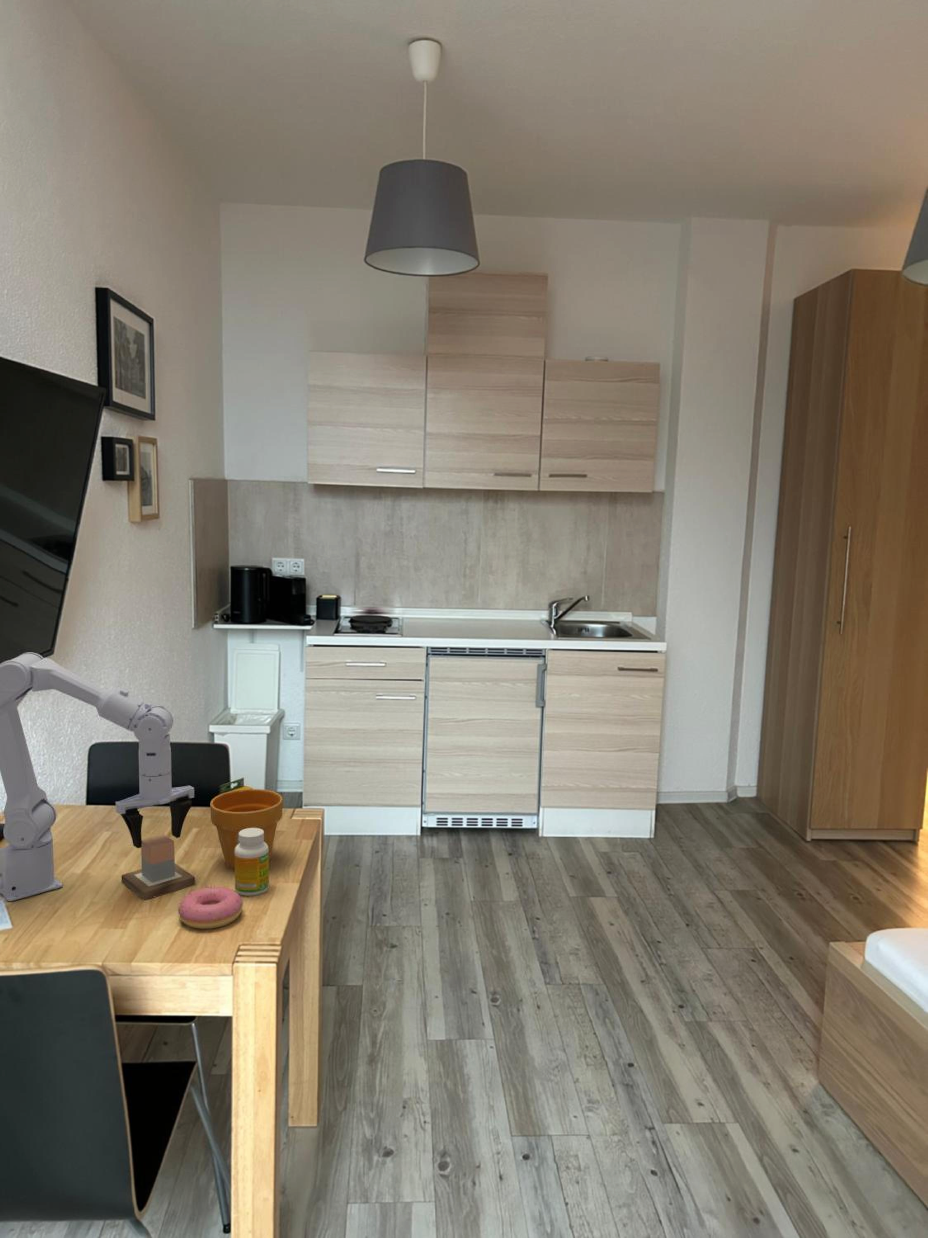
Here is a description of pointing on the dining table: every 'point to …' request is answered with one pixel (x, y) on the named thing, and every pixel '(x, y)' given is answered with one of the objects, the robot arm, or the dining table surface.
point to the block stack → (158, 858)
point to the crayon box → (238, 787)
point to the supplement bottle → (251, 863)
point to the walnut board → (157, 883)
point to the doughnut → (210, 907)
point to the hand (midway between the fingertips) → (157, 841)
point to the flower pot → (245, 817)
